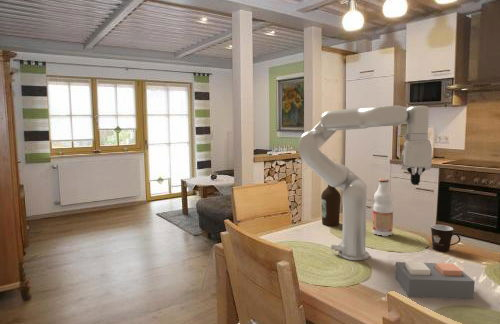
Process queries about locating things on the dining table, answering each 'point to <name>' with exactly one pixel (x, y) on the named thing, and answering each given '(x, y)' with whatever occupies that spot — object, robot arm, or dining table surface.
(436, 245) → the coffee mug
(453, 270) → the terracotta key
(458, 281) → the grey button box
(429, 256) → the dining table surface
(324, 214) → the olive oil
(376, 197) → the fruit juice
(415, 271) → the cream key
